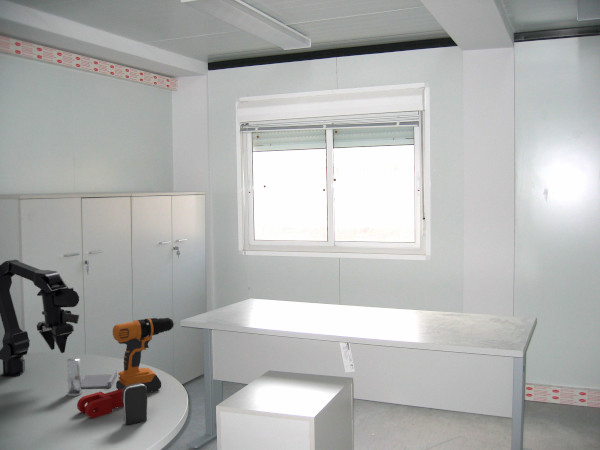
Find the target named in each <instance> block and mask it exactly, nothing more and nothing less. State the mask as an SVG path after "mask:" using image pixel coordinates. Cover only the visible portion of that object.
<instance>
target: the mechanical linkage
mask: <svg viewBox="0 0 600 450" xmlns="http://www.w3.org/2000/svg"><path fill="white" fill-rule="evenodd" d="M122 391H123V389H119V390H118V389H116V390H113V391H109V392H105V393H104V392H103V391H99V392H95V393H91V394H87V395H83V396H82V397H80V398H79V400H77V404H76V409H77V410H78V411H79V412H80V413H82V414H85V415H86V416H87V417H89V418H91V419H96V418H99V417H103V416H105V415H108V414H112V413H113V409H114V410H115V409H118V408H121V407H124V404H123V403H122ZM117 407H118V408H117Z"/></svg>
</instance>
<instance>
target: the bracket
mask: <svg viewBox="0 0 600 450" xmlns="http://www.w3.org/2000/svg"><path fill="white" fill-rule="evenodd" d="M117 376H118V371H117V370H113V372H112V373H109V374H85V375H84V377H83V379H81V380H82V381H81V390H82V389H105V388H106V389H107V388H108V389H109V388H112V386H113V385H114V382H115V381H116V379H117V378H118V377H117Z"/></svg>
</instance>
